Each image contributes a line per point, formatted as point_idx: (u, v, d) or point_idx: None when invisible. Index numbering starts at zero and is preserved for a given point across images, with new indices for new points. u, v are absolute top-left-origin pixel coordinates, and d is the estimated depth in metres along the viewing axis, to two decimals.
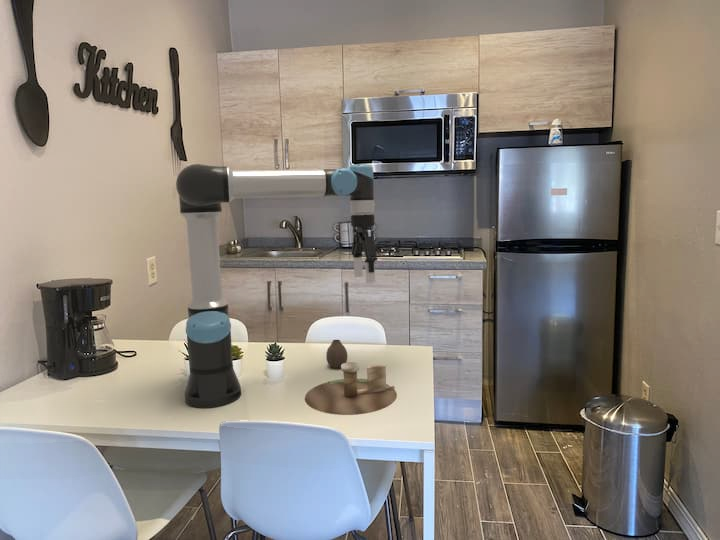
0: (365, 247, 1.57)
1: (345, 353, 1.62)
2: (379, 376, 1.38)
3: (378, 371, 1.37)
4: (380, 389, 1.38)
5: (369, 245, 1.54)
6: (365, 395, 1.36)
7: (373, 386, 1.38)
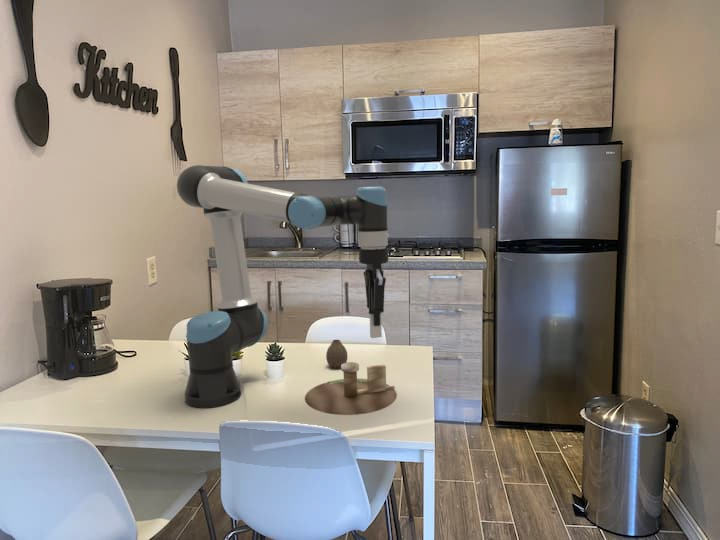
0: (373, 294, 1.28)
1: (345, 353, 1.62)
2: (379, 376, 1.38)
3: (378, 371, 1.37)
4: (380, 389, 1.38)
5: (377, 296, 1.26)
6: (365, 395, 1.36)
7: (373, 386, 1.38)
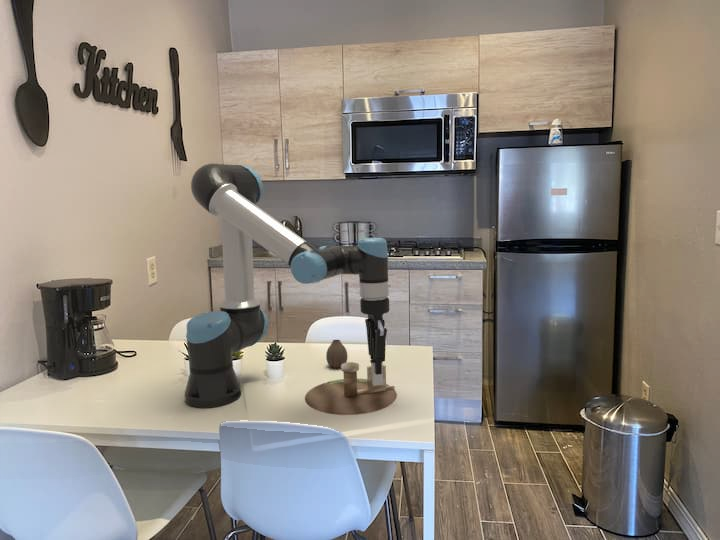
0: (374, 344, 1.30)
1: (345, 353, 1.62)
2: None
3: None
4: (380, 389, 1.38)
5: (379, 346, 1.27)
6: (365, 395, 1.36)
7: (373, 386, 1.38)
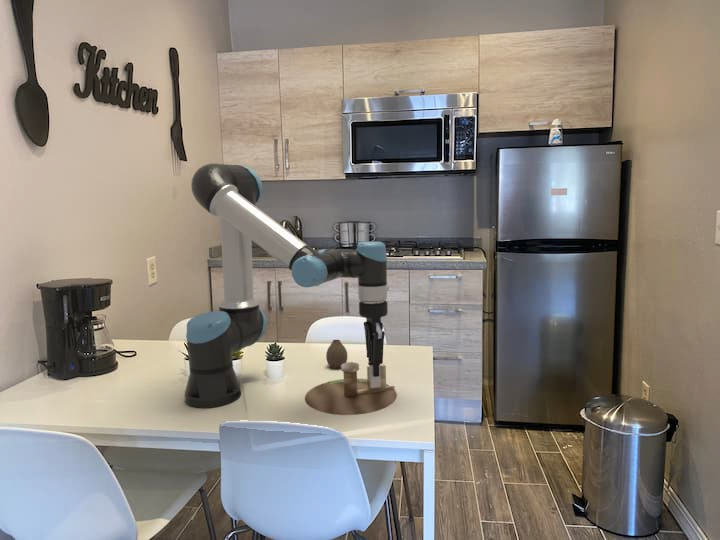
0: (372, 346, 1.32)
1: (345, 353, 1.62)
2: None
3: None
4: (380, 389, 1.38)
5: (376, 349, 1.29)
6: (365, 395, 1.36)
7: None
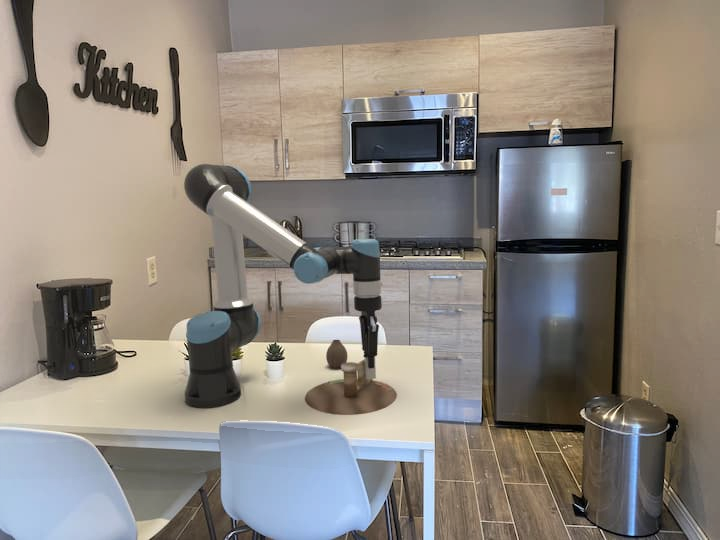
0: (367, 339, 1.37)
1: (345, 353, 1.62)
2: None
3: None
4: (367, 383, 1.43)
5: (371, 341, 1.35)
6: (365, 395, 1.36)
7: (363, 381, 1.42)
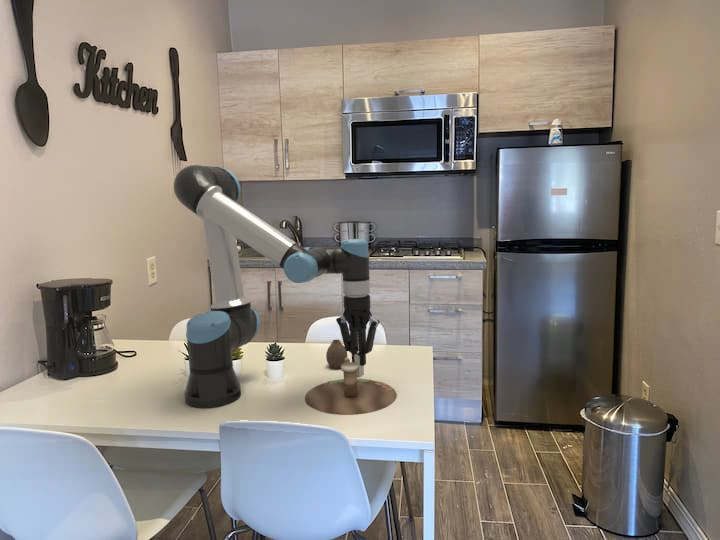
0: (362, 337, 1.40)
1: (345, 353, 1.62)
2: None
3: None
4: None
5: (371, 338, 1.39)
6: (365, 395, 1.36)
7: None
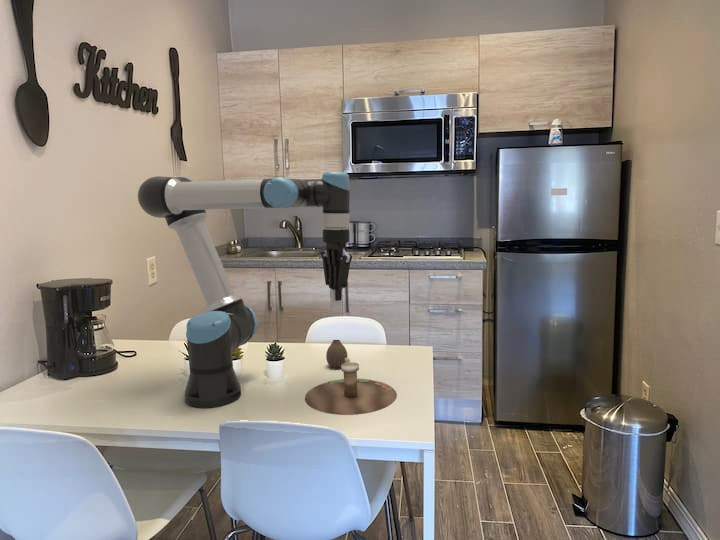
0: (336, 271, 1.40)
1: (345, 353, 1.62)
2: None
3: None
4: None
5: (343, 272, 1.38)
6: (365, 395, 1.36)
7: None
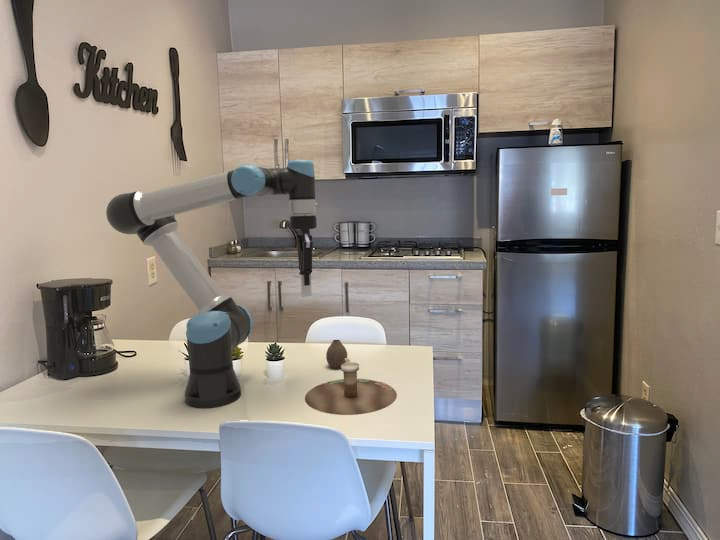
0: (302, 257, 1.43)
1: (345, 353, 1.62)
2: None
3: None
4: None
5: (306, 257, 1.41)
6: (365, 395, 1.36)
7: None
